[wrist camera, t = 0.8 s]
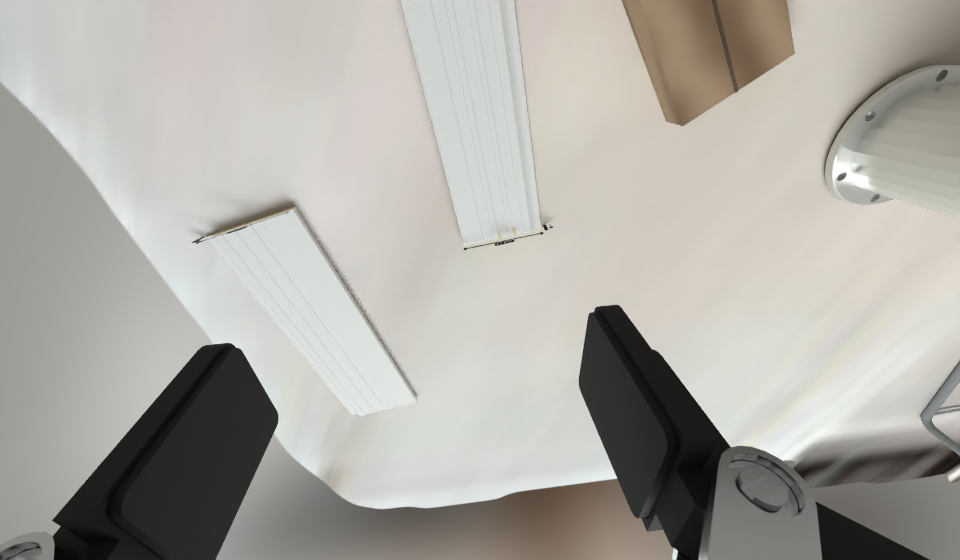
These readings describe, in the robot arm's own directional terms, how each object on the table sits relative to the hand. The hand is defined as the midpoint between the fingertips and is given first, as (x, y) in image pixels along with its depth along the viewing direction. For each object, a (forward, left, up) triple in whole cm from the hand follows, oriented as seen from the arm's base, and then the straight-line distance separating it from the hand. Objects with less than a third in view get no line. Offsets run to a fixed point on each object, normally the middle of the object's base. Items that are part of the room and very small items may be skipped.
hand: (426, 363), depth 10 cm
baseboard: (-6, -3, -28) cm, 29 cm away
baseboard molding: (+26, +8, -28) cm, 39 cm away
